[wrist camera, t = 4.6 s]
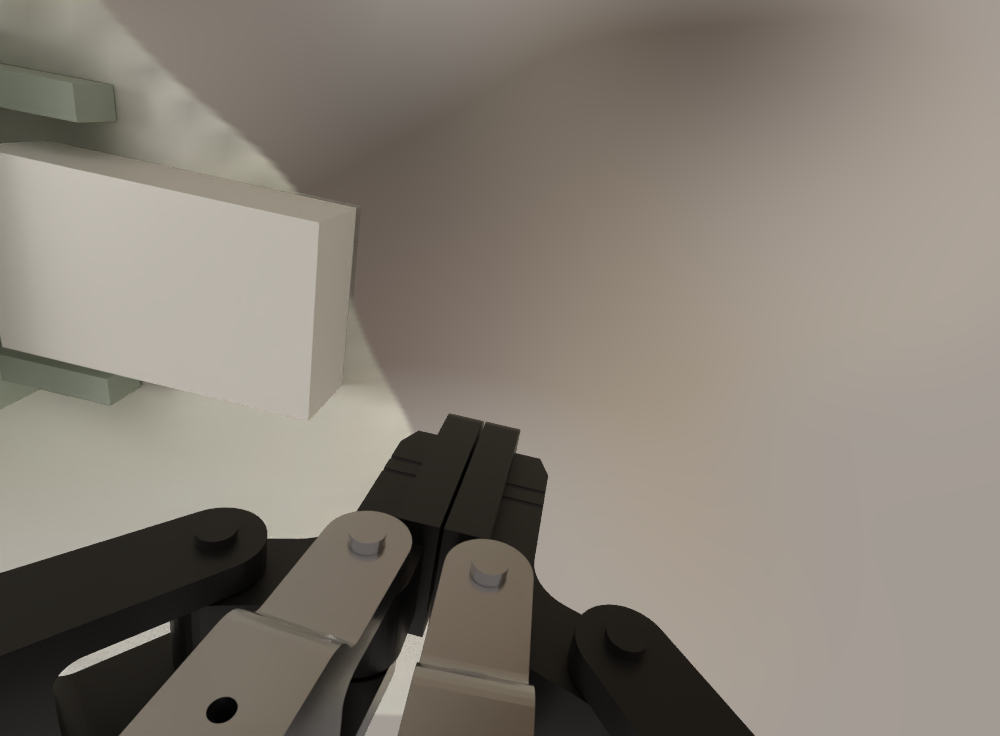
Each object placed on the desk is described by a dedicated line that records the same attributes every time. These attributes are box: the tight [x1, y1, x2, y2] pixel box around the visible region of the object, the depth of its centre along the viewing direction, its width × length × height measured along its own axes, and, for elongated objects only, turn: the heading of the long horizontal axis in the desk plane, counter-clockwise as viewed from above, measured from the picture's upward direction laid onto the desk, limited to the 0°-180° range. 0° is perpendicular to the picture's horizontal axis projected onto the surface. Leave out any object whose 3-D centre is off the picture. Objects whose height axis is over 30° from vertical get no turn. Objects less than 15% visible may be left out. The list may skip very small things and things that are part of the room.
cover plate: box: [0, 140, 361, 421], centre depth 19 cm, size 6×10×3 cm, turn 80°
